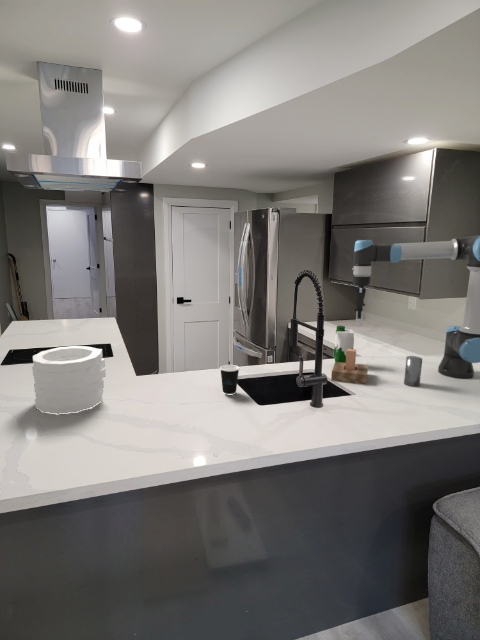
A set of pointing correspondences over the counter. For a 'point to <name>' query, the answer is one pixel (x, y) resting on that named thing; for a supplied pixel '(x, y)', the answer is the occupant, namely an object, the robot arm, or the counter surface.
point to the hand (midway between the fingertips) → (359, 322)
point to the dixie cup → (229, 378)
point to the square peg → (350, 359)
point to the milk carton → (343, 343)
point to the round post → (413, 371)
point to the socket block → (349, 373)
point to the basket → (68, 378)
